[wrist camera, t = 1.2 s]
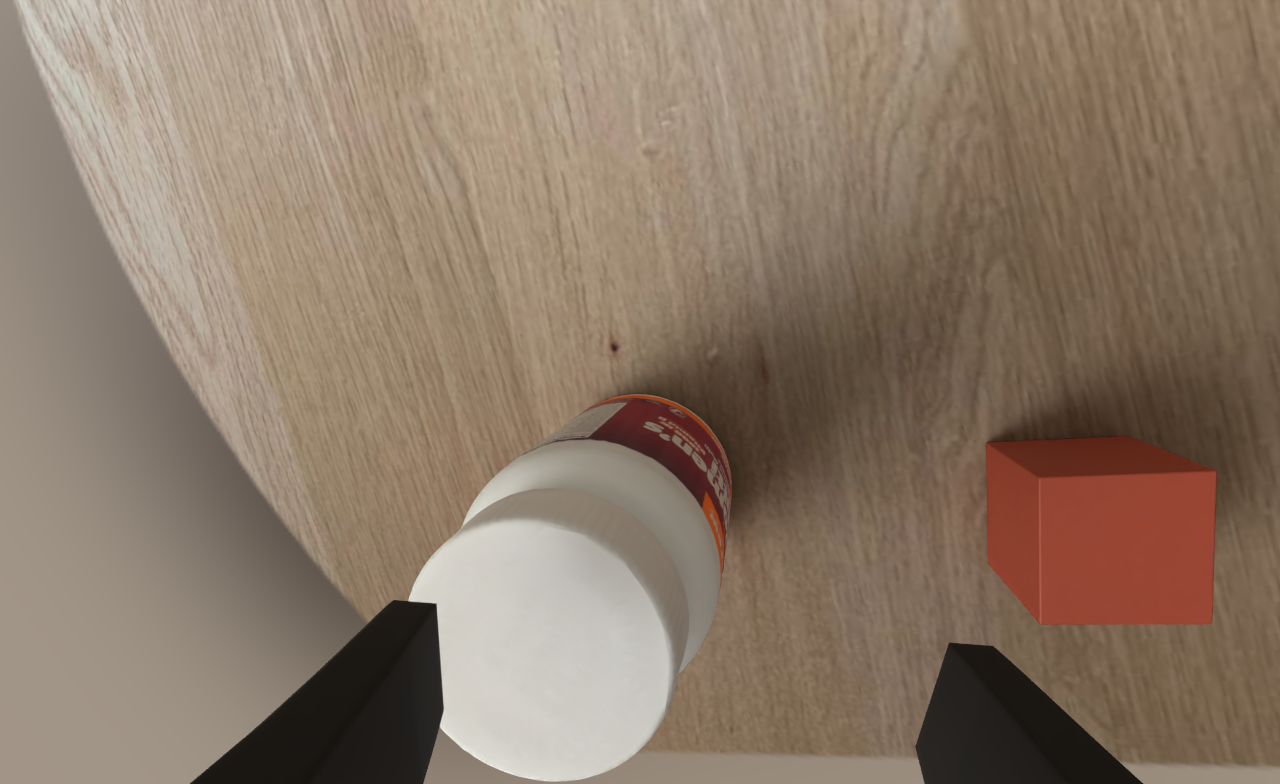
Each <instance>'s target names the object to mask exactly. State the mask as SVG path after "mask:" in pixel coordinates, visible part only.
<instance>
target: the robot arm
mask: <svg viewBox="0 0 1280 784" xmlns="http://www.w3.org/2000/svg"><path fill="white" fill-rule="evenodd" d="M443 712H444V703H443V689H442V675H441V660H440V646H439V632H438V617H437V603H424V602H411V601H398V600H393V601H392V602H391V603H389V604H388V605H387V606H386V607H385V608H384V609H383V610H382V611H381V612H379V613H378V614H377V615H376V616H375V617H374V618H373V619H372V620H371V621H370V622H369V623H368V624H367V625H366V626H365V627H364V628H363V629H362V630H361V631H360V632H359V633H358V634H357V635H356V636H355V637H354V638H353V639H351V640H350V641H349V642H348V643H347V644H346V645H345V646H344V647H343V648H342V649H341V650H340V651H339V652H338V653H337V654H336V655H335V656H334V657H333V658H332V659H331V660H330V661H328V663H326V664H325V665H324V666H323V667H322V668H321V669H320V670H319V671H318V672H317V673H316V674H315V675H314V676H313V677H311V678H310V679H309V680H308V681H307V682H306V683H305V684H304V685H303V686H302V687H300V688H299V689H298V690H297V691H296V692H295V693H294V694H293V695H292V696H291V697H289V698H288V699H287V700H286V701H285V702H284V703H283V704H282V705H281V706H280V707H279V708H277V709H276V710H275V711H274V712H273V713H272V714H271V715H270V716H269V717H268V718H267V719H265V720H264V721H263V722H262V723H261V724H260V725H259V726H257V727H256V728H255V729H254V730H253V731H252V732H251V733H249V735H247V736H246V737H245V738H244V739H242V740H241V741H240V742H239V743H238V744H236V745H235V746H234V747H233V748H232V749H230V750H229V751H228V752H227V753H226V754H225V755H223V756H222V757H221V758H220V759H219V760H217V761H216V762H215V763H214V764H213V765H211V766H210V767H209V768H208V769H207V770H206V771H204V772H203V773H202V774H201V775H200V776H199V777H197V778H196V779H195V780H194V781H192V782H191V783H190V784H423V782H424V779H425V775H426V772H427V769H428V765H429V762H430V758H431V755H432V751H433V748H434V744H435V741H436V737H437V734H438V730H439V726H440V723H441V719H442V715H443ZM916 751H917V755H918V759H919V763H920V766H921V771H922V774H923V779H924V782H925V784H1143V783H1142V782H1141V781H1140V780H1138V779H1137V778H1136V777H1135V776H1134V775H1133V774H1132V773H1131V772H1130V771H1129V770H1127V769H1126V768H1125V767H1124V766H1123V765H1122V764H1121V763H1120V762H1119V761H1118V760H1116V759H1115V758H1114V757H1113V756H1112V755H1111V754H1110V753H1109V752H1108V751H1107V750H1106V749H1104V748H1103V747H1102V746H1101V745H1100V744H1099V743H1098V742H1097V741H1096V740H1095V739H1094V738H1093V737H1091V736H1090V735H1089V734H1088V733H1087V732H1086V731H1085V730H1084V729H1083V728H1082V727H1081V726H1080V725H1079V724H1077V723H1076V722H1075V721H1074V720H1073V719H1072V718H1071V717H1070V716H1069V715H1068V714H1067V713H1066V712H1065V711H1064V710H1062V709H1061V708H1060V707H1059V706H1058V705H1057V704H1056V703H1055V702H1054V701H1053V700H1052V699H1051V698H1050V697H1049V696H1047V695H1046V694H1045V693H1044V692H1043V691H1042V690H1041V689H1040V688H1039V687H1038V686H1037V685H1036V684H1035V683H1034V682H1032V681H1031V680H1030V679H1029V678H1028V677H1027V676H1026V675H1025V674H1024V673H1023V672H1022V671H1021V670H1019V669H1018V668H1017V667H1016V666H1015V665H1014V664H1013V663H1012V662H1011V661H1009V660H1008V659H1007V658H1006V657H1005V656H1004V655H1003V654H1002V653H1000V652H999V651H998V650H997V649H996V648H995V647H993V646H985V645H972V644H959V643H949V645H948V648H947V651H946V654H945V657H944V660H943V663H942V667H941V670H940V673H939V676H938V679H937V682H936V685H935V688H934V691H933V694H932V697H931V700H930V704H929V707H928V710H927V713H926V716H925V719H924V722H923V725H922V728H921V731H920V734H919V738H918V741H917V744H916Z"/></svg>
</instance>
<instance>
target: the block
mask: <svg viewBox="0 0 1280 784" xmlns="http://www.w3.org/2000/svg"><path fill="white" fill-rule="evenodd" d="M986 468H987V524H988V564H989V565H990V566H991V567H992V569H993V570H994V571H995V572H996V573H997V575H998V576H999V577H1000V578H1001V579H1002V580H1003V582H1004V583H1005V584H1006V585H1007V586H1008V587H1009V589H1010V590H1011V591H1012V592H1013V593H1014V594H1015V596H1016V597H1017V598H1018V599H1019V600H1020V601H1021V603H1022V604H1023V605H1024V606H1025V607H1026V608H1027V610H1028V611H1029V612H1030V613H1031V614H1032V615H1033V617H1034V618H1035V619H1036V620H1037V621H1038V623H1039V624H1042V625H1084V624H1212V613H1213V580H1214V548H1215V515H1216V482H1217V472H1216V471H1215V470H1213V469H1210V468H1208V467H1205V466H1203V465H1200V464H1197V463H1195V462H1192V461H1190V460H1187V459H1185V458H1182V457H1180V456H1177V455H1175V454H1172V453H1169V452H1167V451H1164V450H1162V449H1159V448H1157V447H1154V446H1152V445H1149V444H1147V443H1144V442H1141V441H1139V440H1136V439H1134V438H1131V437H1129V436H1115V437H1094V438H1072V439H1051V440H1029V441H1008V442H988V443H986Z"/></svg>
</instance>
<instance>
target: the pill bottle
mask: <svg viewBox="0 0 1280 784" xmlns="http://www.w3.org/2000/svg"><path fill="white" fill-rule="evenodd" d="M731 496H732V480H731V473H730V467H729V463H728V460H727V457H726V454H725V451H724V449H723V447H722V445H721V443H720V442H719V440H718V438H717V437H716V435H715V434H714V433H713V431H712V430H711V429H710V427H709V426H708V425H707V424H706V423H705V422H704V421H703V420H702V419H701V418H700V417H699V416H697V415H696V414H695V413H693V412H692V411H691V410H689V409H688V408H686V407H684V406H682V405H680V404H678V403H676V402H674V401H671V400H668V399H666V398H663V397H658V396H653V395H645V394H630V395H622V396H618V397H614V398H611V399H608V400H605V401H602V402H600V403H598V404H596V405H594V406H592V407H590V408H589V409H587V410H586V411H584V412H583V413H581V414H580V415H578V416H577V417H575V418H574V419H572V420H571V421H570V422H568V423H567V424H566V425H564V426H563V427H561V428H560V429H558V430H557V431H556V432H554V433H553V434H552V435H550V436H549V437H547V438H546V439H545V440H543V441H542V442H540V443H539V444H537V445H536V446H534V447H533V448H531V449H530V450H529V451H527V452H526V453H524V454H522V455H521V456H519V457H517V458H516V459H514V460H513V461H512V462H511V463H510V464H508V465H507V466H506V467H505V468H503V469H502V470H501V471H500V472H499V473H498V474H497V475H496V476H495V477H494V478H493V479H492V480H491V481H490V482H489V483H488V484H487V485H486V486H485V487H484V488H483V490H482V491H481V492H480V494H479V495H478V496H477V498H476V499H475V501H474V502H473V504H472V506H471V508H470V509H469V511H468V513H467V515H466V518H465V520H464V523H463V525H462V528H461V529H460V530H459V531H458V532H457V533H455V534H454V535H453V536H452V537H451V538H450V539H448V540H447V541H446V542H445V543H444V544H443V545H442V546H441V547H440V548H439V549H438V550H437V551H436V552H435V553H434V554H433V555H432V556H431V557H430V559H429V560H428V561H427V563H426V564H425V566H424V567H423V569H422V570H421V572H420V574H419V576H418V578H417V580H416V581H415V583H414V586H413V589H412V592H411V594H410V597H409V600H408V601H411V602H424V603H437V617H438V632H439V646H440V660H441V675H442V689H443V703H444V712H443V715H442V719H441V723H440V727H441V729H442V730H443V731H444V732H445V733H446V734H447V735H448V736H449V737H450V738H451V739H452V740H454V741H455V742H456V743H457V744H458V745H459V746H460V747H461V748H462V749H463V750H465V751H467V752H468V753H470V754H471V755H472V756H474V757H475V758H477V759H479V760H480V761H482V762H484V763H486V764H488V765H490V766H492V767H494V768H496V769H499V770H501V771H503V772H506V773H509V774H512V775H516V776H520V777H525V778H529V779H534V780H541V781H572V780H578V779H584V778H588V777H591V776H595V775H598V774H601V773H604V772H606V771H609V770H611V769H613V768H615V767H616V766H618V765H620V764H622V763H624V762H625V761H626V760H628V759H630V758H631V757H632V756H633V755H634V754H635V753H637V752H638V751H639V750H640V749H641V748H642V747H643V746H645V745H646V744H647V742H648V741H649V740H650V739H651V738H652V736H653V735H654V734H655V732H656V730H657V729H658V727H659V726H660V724H661V722H662V721H663V719H664V717H665V715H666V713H667V711H668V708H669V706H670V704H671V701H672V698H673V695H674V691H675V687H676V683H677V679H678V674H679V673H680V672H681V671H682V670H683V669H684V668H685V667H686V666H687V665H688V664H689V663H690V661H691V660H692V659H693V658H694V656H695V655H696V654H697V652H698V651H699V649H700V647H701V646H702V644H703V642H704V640H705V639H706V637H707V635H708V632H709V630H710V628H711V625H712V622H713V619H714V616H715V612H716V608H717V603H718V597H719V592H720V586H721V579H722V572H723V567H724V556H725V548H726V542H727V534H728V527H729V518H730V509H731Z"/></svg>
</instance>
